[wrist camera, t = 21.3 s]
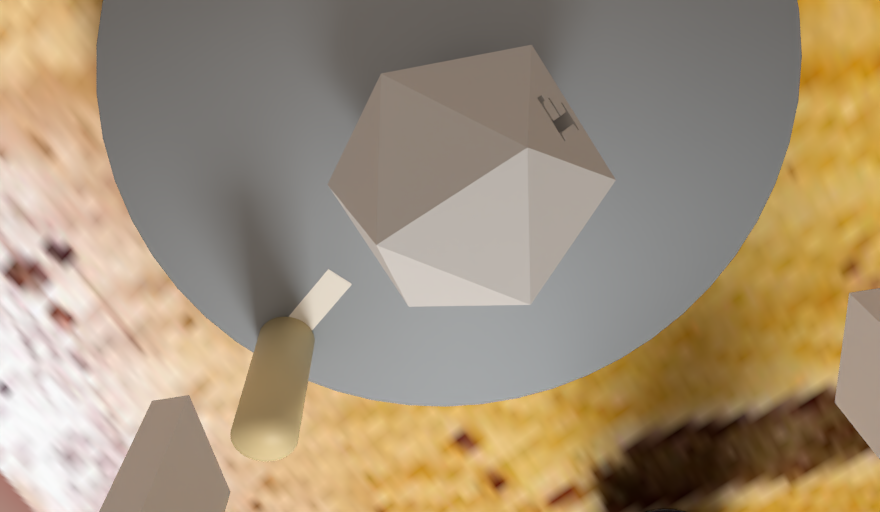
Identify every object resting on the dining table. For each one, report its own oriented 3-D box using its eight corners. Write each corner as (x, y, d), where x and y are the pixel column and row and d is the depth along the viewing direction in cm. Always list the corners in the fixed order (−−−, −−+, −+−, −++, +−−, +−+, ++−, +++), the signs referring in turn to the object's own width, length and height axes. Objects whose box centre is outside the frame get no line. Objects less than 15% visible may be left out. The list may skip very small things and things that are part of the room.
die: (560, 234, 30) (712, 192, 21) (396, 354, 28) (487, 367, 18) (454, 66, 29) (563, -53, 20) (274, 174, 27) (307, 93, 18)
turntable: (389, -511, 20) (383, -707, 13) (907, 70, 29) (1070, 139, 22) (-1, 176, 29) (-127, 278, 22) (485, 457, 38) (505, 592, 31)
